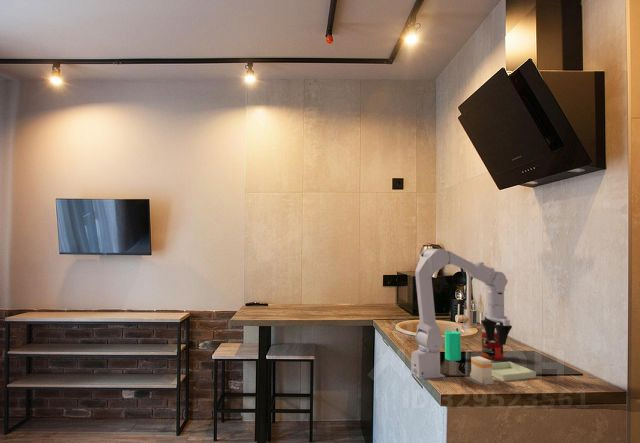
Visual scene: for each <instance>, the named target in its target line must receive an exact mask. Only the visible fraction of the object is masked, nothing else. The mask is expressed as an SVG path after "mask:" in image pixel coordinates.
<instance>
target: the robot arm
mask: <svg viewBox="0 0 640 443" xmlns="http://www.w3.org/2000/svg"><path fill="white" fill-rule="evenodd" d="M447 265H453V266H454V267H457V268H460V269H463V270H464V271H467V272H468V274H469V276H470V277H471V278H474V279H475V280H478V281H480V282H482V283H484V284H485V286H486V294H487V295H486V302H487V304H486V307H487V308H486V311H487V313H482V320H480V322H481V324H482V326H483V329H485V332H486V336H487V339H488V340H494V333H495V329H496V331H497V335H498V343H499V345H503V346H505V345H506V343H507V339H508V336H509V334H510V331H511V330H512V328H513V326H512V325H511V320H510V319H508V316H507V315H505V290H506V286H507V284H508V282H509V281H508V279H507V277H506V275H505V273H503V272H502V271H496V270H495V268H494V267H489V266H487V265H485V263H484V262H482V261H475V262H471V261H469V260H467V259H466V258H463V257H461V256H459V255H458V254H456V253H454V252H452V251H450V250H446V249H444V248H432V247H431V248H430V247H429V248H426V249H424V250H423V251H422V252H421V253H420V254H419V260H418V262H417V266H416V268H415V272H414V273H415V274H414V276H415V286H416V294H417V295H416V296H417V305H418V314H419V316H418V317H419V322H418V324H417V325H416V332H415V335H414V336H415V342H416V343H417V344H418V349H417V350H413V351H412V352H411V355H410V370H411V371H410V374H412V375H414V376H415V377H417V378H419V379H420V380H423V379H424V380H425V379H435V378H444V377H446V376H445V375H444V374H443V373H441V350H442V348H443V346H444V343H445V340H444V338H443V336H442V333H441V329H440V327H439V325H438V323H437V320H436V311H435V309H436V308H435V301H434V289H433V281H432V277H433V276H434V275H435V274H436V272H438V271H439V270H441V269H443V268H445V267H446V266H447ZM483 319H484V320H483Z"/></svg>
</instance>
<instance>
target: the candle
mask: <svg viewBox="0 0 640 443" xmlns="http://www.w3.org/2000/svg"><path fill="white" fill-rule="evenodd" d="M461 336H462V335H461V332H459V331H456V330H455V331H454V328H452V331H451V330H445V332H444V359H445V360H447V361H452V362H457V361H461V360H462V345H461V344H462V342H461V340H462V337H461Z"/></svg>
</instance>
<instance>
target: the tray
mask: <svg viewBox="0 0 640 443" xmlns="http://www.w3.org/2000/svg"><path fill="white" fill-rule="evenodd" d="M493 377H494V378H496V379H498V380H500V381H502V382H507V381H508V382H509V381H517V380H525V379H527V380H528V379H534V378H535V379H537V372H536V371H535V370H533V369H530V368H527V367H525V366H522V365H520V364H516V363H514V362H512V361H503V362H501V361H500V362H492V378H493Z"/></svg>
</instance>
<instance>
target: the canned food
mask: <svg viewBox="0 0 640 443" xmlns="http://www.w3.org/2000/svg"><path fill="white" fill-rule="evenodd" d="M481 357H483V358H486V359H488V360H491V361H501V360H503V358H504V345H499V343H498V335H497V331H496V328H495V333H494V340H488V339H487V336H486V332H485V329H484V328H482V329H481Z"/></svg>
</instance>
